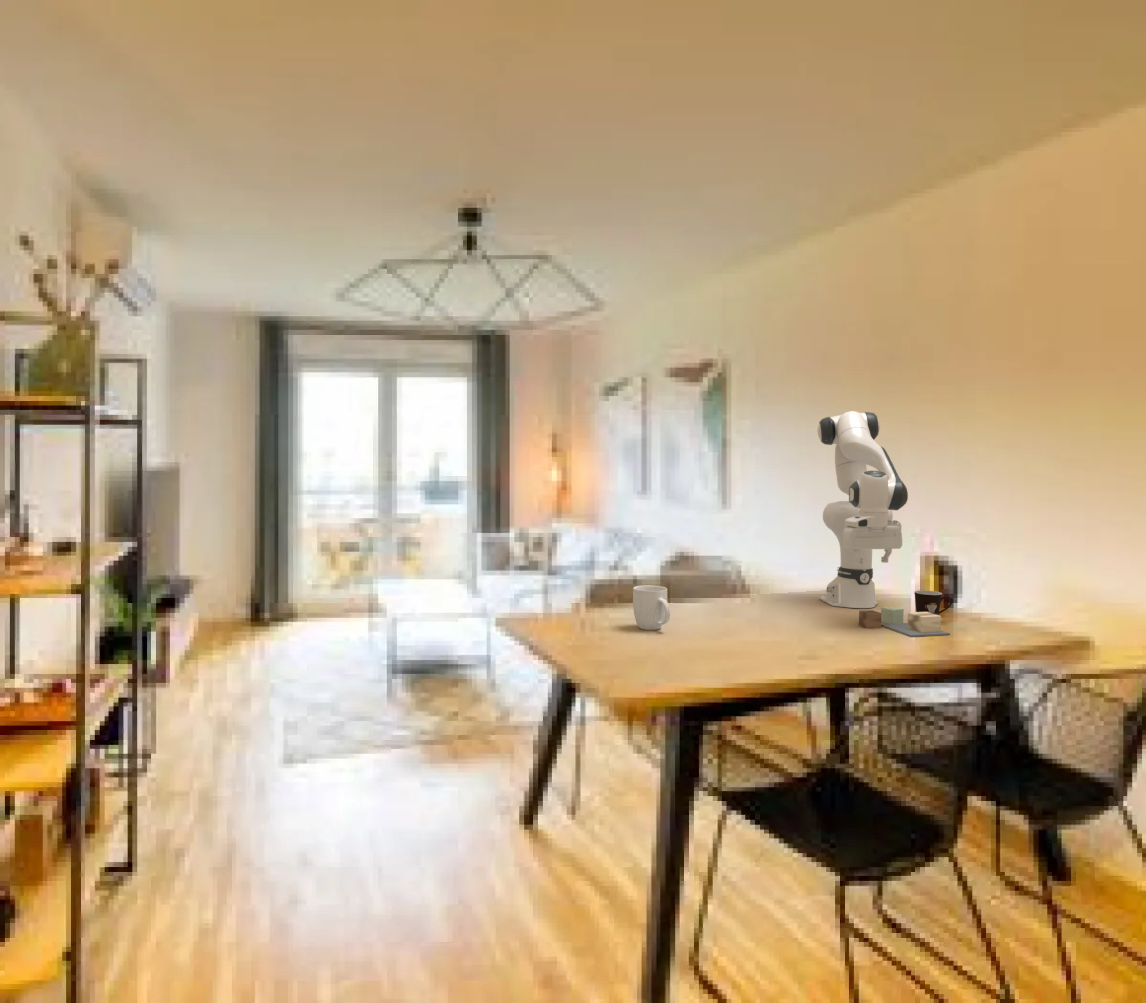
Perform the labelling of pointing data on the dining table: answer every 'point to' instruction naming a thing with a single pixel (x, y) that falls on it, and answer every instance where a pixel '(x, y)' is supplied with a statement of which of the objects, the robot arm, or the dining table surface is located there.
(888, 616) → the sage block
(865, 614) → the walnut block
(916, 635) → the mat
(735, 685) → the dining table surface
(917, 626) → the base block
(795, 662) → the dining table surface
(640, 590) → the mug
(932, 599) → the coffee mug
